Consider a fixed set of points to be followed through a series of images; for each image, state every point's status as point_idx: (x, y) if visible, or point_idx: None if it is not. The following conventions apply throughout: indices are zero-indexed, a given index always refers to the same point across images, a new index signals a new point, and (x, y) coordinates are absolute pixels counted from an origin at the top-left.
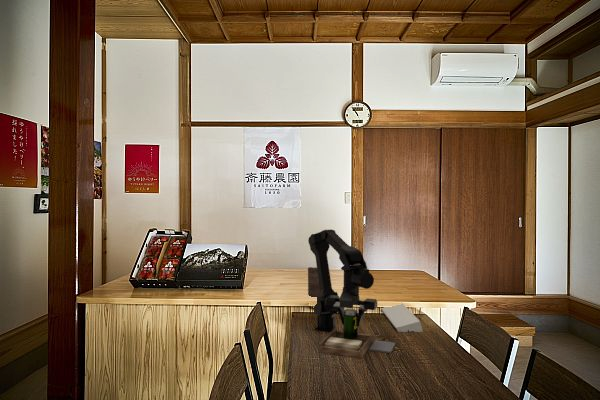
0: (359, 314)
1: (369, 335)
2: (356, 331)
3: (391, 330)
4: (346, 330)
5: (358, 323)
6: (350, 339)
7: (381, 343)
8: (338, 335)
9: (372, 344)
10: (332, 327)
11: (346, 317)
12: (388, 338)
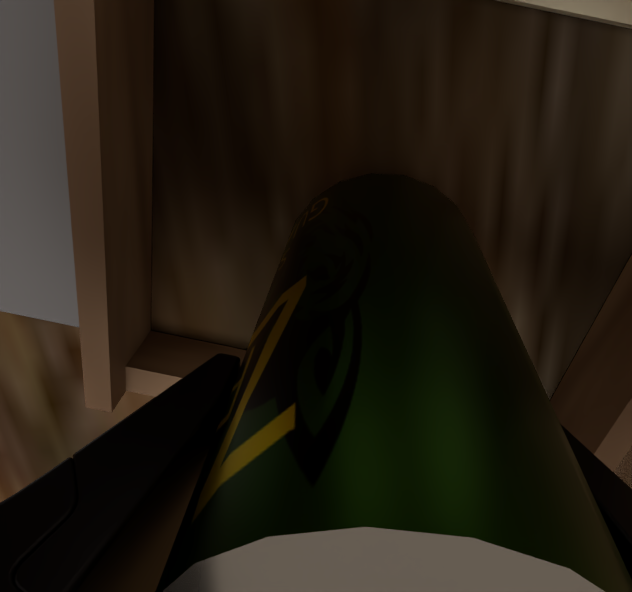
0: (27, 577)
1: (154, 380)
2: (276, 283)
3: None
4: (466, 263)
5: (200, 381)
6: (381, 189)
7: (7, 241)
8: None
9: None
10: None
11: (549, 477)
12: (22, 423)
